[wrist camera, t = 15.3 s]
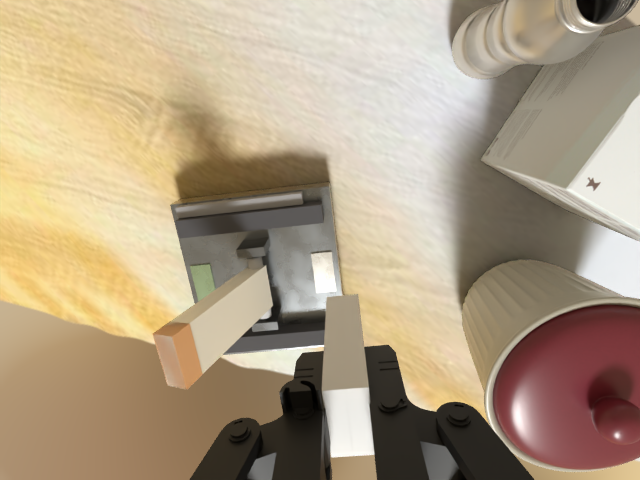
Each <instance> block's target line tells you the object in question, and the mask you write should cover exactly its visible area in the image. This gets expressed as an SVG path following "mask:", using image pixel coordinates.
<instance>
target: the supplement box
mask: <svg viewBox="0 0 640 480" xmlns="http://www.w3.org/2000/svg"><path fill="white" fill-rule="evenodd" d="M481 161H482V162H484V163H485V164H487V165H489V166H491V167H492V168H494V169H496V170H497V171H499V172H501V173H503V174H504V175H506V176H508V177H510V178H511V179H513V180H515V181H516V182H518V183H520V184H522V185H523V186H525V187H527V188H528V189H530V190H532V191H534V192H535V193H537V194H539V195H540V196H542V197H544V198H546V199H547V200H549V201H551V202H553V203H554V204H556V205H558V206H560V207H561V208H563V209H565V210H567V211H569V212H571V213H574V214H576V215H579V216H581V217H583V218H586V219H588V220H590V221H593V222H595V223H597V224H600V225H602V226H604V227H607V228H609V229H611V230H614V231H616V232H618V233H621V234H623V235H625V236H628V237H630V238H632V239H635V240H637V241H639V242H640V25H638V26H634V27H631V28H627V29H624V30H620V31H617V32H613V33H610V34H606V35H603V36H599V37H598V38H597V39H596V40H595V41H594V42H593V43H592V44H591V45H589V46H588V47H587V48H586V49H585V50H583V51H582V52H581V53H579V54H578V55H576V56H575V57H573V58H571V59H568V60H566V61H564V62H560V63H555V64H548V65H544V66H543V67H542V69H541V70H540V72H539V73H538V74H537V76H536V77H535V79H534V80H533V82H532V83H531V85H530V86H529V88H528V89H527V91H526V92H525V94H524V95H523V97H522V98H521V100H520V101H519V103H518V104H517V106H516V107H515V109H514V110H513V112H512V113H511V115H510V116H509V118H508V119H507V121H506V122H505V124H504V125H503V127H502V128H501V130H500V131H499V133H498V134H497V136H496V137H495V139H494V140H493V142H492V143H491V145H490V146H489V147H488V149H487V150H486V152H485V153H484V155H483V156H482V158H481Z"/></svg>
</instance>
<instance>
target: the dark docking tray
mask: <svg viewBox="0 0 640 480" xmlns="http://www.w3.org/2000/svg"><path fill="white" fill-rule="evenodd" d="M175 210H176V214H177V218H179V219H178V220H176V221H175V223H176V227H177V231H178V235H179V239H181V238H190V237H199V236H209V235H218V234H227V233H236V232H245V231H255V230H264V229H273V228H282V227H292V226H301V225H310V224H319V223H324V214H323V206H322V201H315V202H306V203H304V200H303V193H302V191H300V192H291V193H283V194H274V195H265V196H257V197H248V198H239V199H231V200H222V201H213V202H205V203H196V204H187V205H179V206H177V207H176V208H175ZM324 337H325V322H314V323H303V324H291V325H280V326H279V329H278V330H268V331H257V332H253V331H252V328H249V329H248V330H247V331H246V332H245V333H244V334H243V335H242V336H241V337H240V338H239V339H238V340H237V341H236V342H235V343H234V344H233V345H232V346H231V347H230V348H229V349H228V350H227V351H226V352H225V353H236V352H248V351H260V350H272V349H284V348H295V347H307V346H319V345H324Z"/></svg>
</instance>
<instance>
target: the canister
mask: <svg viewBox="0 0 640 480" xmlns="http://www.w3.org/2000/svg"><path fill="white" fill-rule="evenodd" d="M462 325H463V329H464V332H465V337H466V340H467V343H468V346H469V350H470V353H471V356H472V359H473V362H474V364H475V367H476V370H477V373H478V375H479V378H480V381H481V384H482V387H483V390H484V405H485V412H486V416H487V419H488V422H489V424H490V426H491V428H492V429H493V430H494V431H495V433H496V434H497V435H498V436H499V437H500V439H501V440H502V441H503V442H504V443H505V445H506V446H507V447H508V448H509V450H510V451H511V452H512V453H513V454H515V455H516V456H518V457H520V458H521V459H523V460H525V461H527V462H529V463H532V464H534V465H537V466H540V467H543V468H547V469H551V470H557V471H565V472H566V471H567V472H587V471H595V470H602V469H607V468H611V467H615V466H618V465H622V464H624V463H627V462H629V461H632V460H635V459H637V458H639V457H640V299H637V298H630V297H624V296H622V295H620V294H618V293H616V292H613V291H611V290H609V289H607V288H605V287H603V286H601V285H599V284H596V283H594V282H592V281H590V280H588V279H586V278H584V277H582V276H579V275H577V274H575V273H573V272H570V271H568V270H566V269H563V268H561V267H559V266H556V265H554V264H550V263H547V262H544V261H539V260H537V261H536V260H532V259H528V260H522V259H519V260H516V261H509V262H506V263H501V264H500V265H498V266H496V267H493V268H492V269H490V270H488V271H486V272H485V273H484V274H483V275H482V276H480V277H479V278H478V279H477V281H476V282H474V283H473V285H472V287H471V288H470V289H469V290H468V294H467V296H466V297H465V302H464V304H463V312H462Z"/></svg>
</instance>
